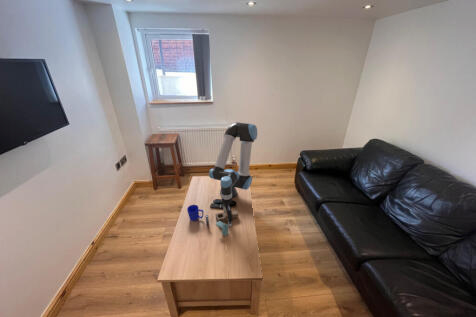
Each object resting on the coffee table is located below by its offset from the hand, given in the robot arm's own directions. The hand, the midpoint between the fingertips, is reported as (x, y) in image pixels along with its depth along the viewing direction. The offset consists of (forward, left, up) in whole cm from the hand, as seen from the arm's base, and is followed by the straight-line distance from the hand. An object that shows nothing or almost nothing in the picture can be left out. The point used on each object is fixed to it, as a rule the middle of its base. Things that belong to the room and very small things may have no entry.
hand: (227, 219), depth 146 cm
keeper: (+12, +4, 0) cm, 13 cm away
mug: (+12, -21, 0) cm, 24 cm away
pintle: (+12, -10, 0) cm, 15 cm away
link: (0, 0, 0) cm, 0 cm away
